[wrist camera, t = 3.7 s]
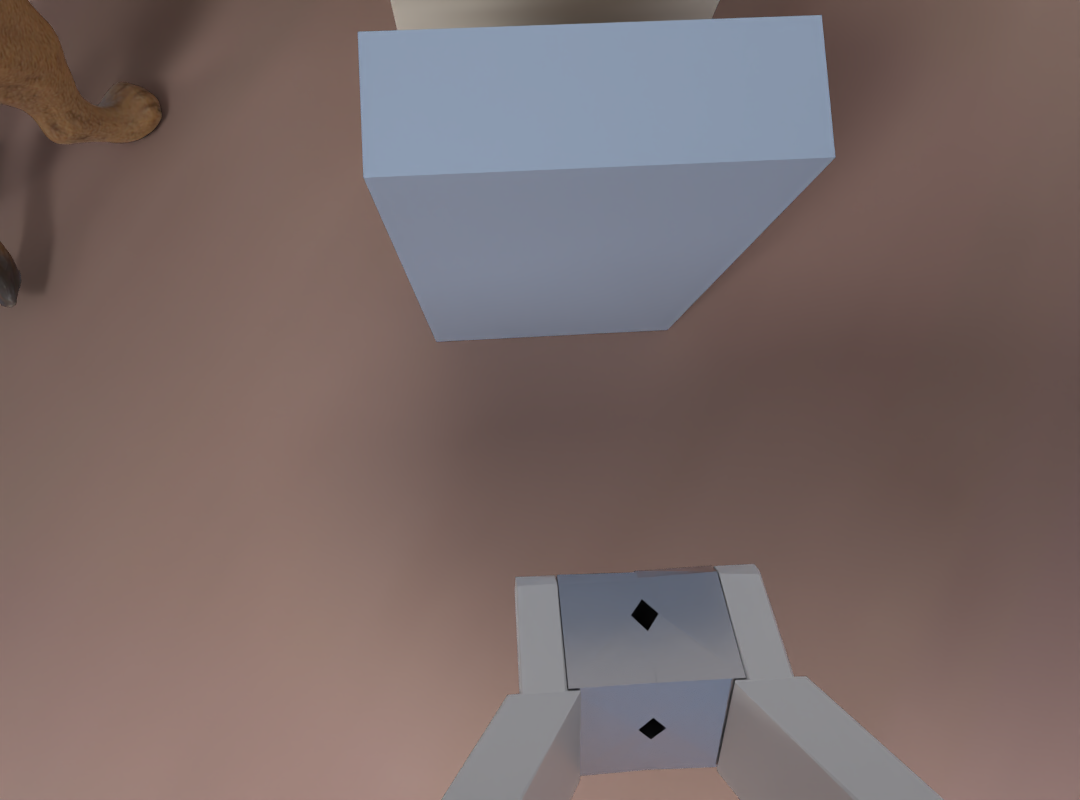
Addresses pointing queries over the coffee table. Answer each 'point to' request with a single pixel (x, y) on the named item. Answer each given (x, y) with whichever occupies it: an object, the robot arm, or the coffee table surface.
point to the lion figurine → (59, 101)
